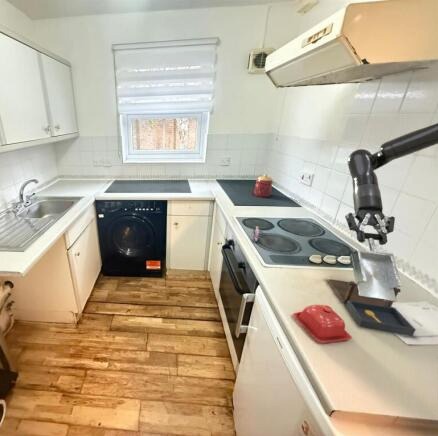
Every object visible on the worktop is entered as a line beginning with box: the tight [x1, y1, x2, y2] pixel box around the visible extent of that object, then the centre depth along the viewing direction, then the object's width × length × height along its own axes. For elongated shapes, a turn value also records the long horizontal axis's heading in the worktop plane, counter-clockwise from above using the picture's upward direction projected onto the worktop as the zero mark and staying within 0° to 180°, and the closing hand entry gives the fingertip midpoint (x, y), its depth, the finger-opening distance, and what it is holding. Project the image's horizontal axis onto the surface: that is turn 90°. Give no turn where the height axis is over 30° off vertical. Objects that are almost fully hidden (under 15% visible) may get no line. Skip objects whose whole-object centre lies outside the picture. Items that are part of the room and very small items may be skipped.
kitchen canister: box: [253, 174, 274, 198], centre depth 197 cm, size 13×13×18 cm
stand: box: [327, 278, 402, 307], centre depth 85 cm, size 13×14×9 cm
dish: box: [350, 232, 402, 303], centre depth 80 cm, size 22×10×5 cm
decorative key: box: [253, 225, 260, 243], centre depth 130 cm, size 7×1×20 cm
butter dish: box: [292, 304, 353, 344], centre depth 71 cm, size 12×12×8 cm
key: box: [365, 310, 382, 323], centre depth 76 cm, size 6×3×1 cm, turn 178°
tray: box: [345, 300, 416, 337], centre depth 76 cm, size 13×9×2 cm
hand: (372, 243), depth 82 cm, fingers closed on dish, 5 cm apart
